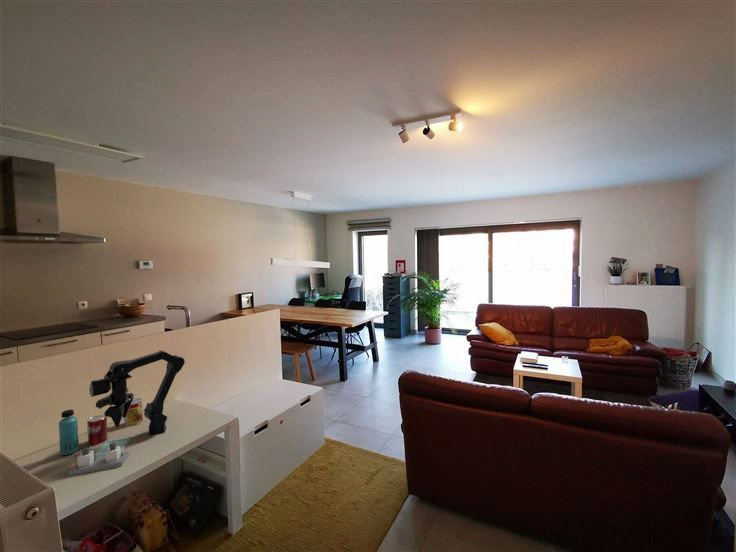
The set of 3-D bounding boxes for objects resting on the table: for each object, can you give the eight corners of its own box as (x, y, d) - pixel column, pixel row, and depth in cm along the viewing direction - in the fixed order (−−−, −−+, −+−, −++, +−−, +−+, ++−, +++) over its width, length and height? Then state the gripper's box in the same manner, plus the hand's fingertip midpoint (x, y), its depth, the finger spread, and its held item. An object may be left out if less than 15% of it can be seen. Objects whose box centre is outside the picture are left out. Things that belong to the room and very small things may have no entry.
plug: (120, 458, 141) (120, 440, 140) (117, 464, 137) (116, 445, 137) (109, 460, 139) (109, 442, 139) (105, 466, 136) (105, 447, 135)
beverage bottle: (62, 460, 141) (60, 415, 140) (57, 455, 144) (55, 412, 144) (81, 452, 146) (79, 409, 146) (76, 448, 150) (74, 406, 149)
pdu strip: (128, 456, 143) (128, 450, 143) (122, 467, 136) (121, 460, 136) (78, 465, 137) (78, 458, 137) (68, 477, 130) (68, 470, 129)
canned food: (145, 422, 174) (144, 400, 174) (127, 428, 168) (126, 405, 167) (139, 418, 179) (138, 397, 178) (122, 423, 172) (121, 402, 172)
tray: (105, 443, 154) (105, 440, 154) (130, 439, 157) (130, 436, 157) (93, 458, 142) (93, 456, 142) (120, 454, 145) (120, 451, 145)
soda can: (96, 447, 151) (95, 422, 150) (84, 445, 152) (82, 421, 151) (111, 439, 158) (110, 415, 157) (99, 437, 159) (98, 413, 159)
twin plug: (94, 463, 137) (93, 444, 137) (90, 469, 134) (89, 449, 133) (82, 465, 136) (81, 446, 136) (78, 471, 132) (77, 451, 132)
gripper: (106, 384, 156) (107, 416, 157) (89, 400, 138) (90, 435, 139) (133, 381, 160) (134, 411, 161) (120, 396, 142) (121, 430, 143)
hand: (120, 421), depth 151 cm, fingers open, 9 cm apart
